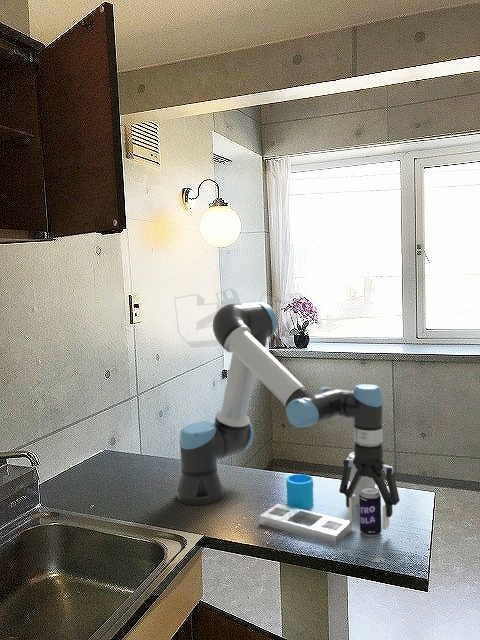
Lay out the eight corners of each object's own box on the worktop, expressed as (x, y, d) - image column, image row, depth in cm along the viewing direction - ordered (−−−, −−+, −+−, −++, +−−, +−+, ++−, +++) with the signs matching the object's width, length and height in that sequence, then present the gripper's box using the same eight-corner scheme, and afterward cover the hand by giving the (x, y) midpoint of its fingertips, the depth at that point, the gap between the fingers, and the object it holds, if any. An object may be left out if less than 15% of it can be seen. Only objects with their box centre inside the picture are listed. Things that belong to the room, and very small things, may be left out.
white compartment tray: (259, 524, 161) (259, 515, 161) (278, 511, 169) (278, 503, 169) (336, 545, 147) (335, 535, 147) (352, 530, 155) (351, 521, 155)
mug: (305, 512, 168) (304, 485, 167) (282, 506, 173) (281, 480, 172) (323, 498, 178) (323, 473, 177) (301, 493, 183) (300, 468, 182)
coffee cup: (360, 511, 167) (359, 462, 166) (341, 500, 175) (339, 453, 174) (385, 504, 171) (384, 456, 170) (364, 494, 180) (364, 448, 178)
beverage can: (357, 529, 155) (356, 487, 154) (377, 527, 156) (376, 485, 155) (363, 538, 150) (362, 495, 149) (384, 537, 150) (383, 493, 149)
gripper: (325, 439, 154) (326, 519, 156) (402, 452, 142) (403, 538, 144) (337, 433, 160) (338, 509, 162) (412, 445, 148) (412, 527, 150)
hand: (368, 523), depth 153 cm, fingers open, 9 cm apart
